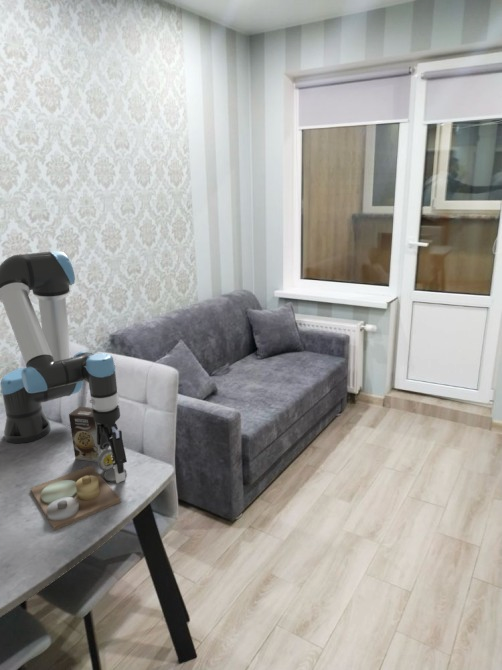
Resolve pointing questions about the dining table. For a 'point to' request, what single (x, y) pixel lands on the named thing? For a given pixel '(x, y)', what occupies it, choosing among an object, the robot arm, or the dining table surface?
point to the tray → (74, 497)
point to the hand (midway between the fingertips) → (114, 474)
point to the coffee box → (84, 434)
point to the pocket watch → (109, 467)
